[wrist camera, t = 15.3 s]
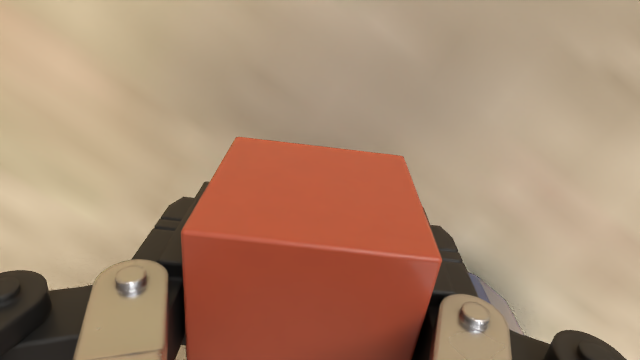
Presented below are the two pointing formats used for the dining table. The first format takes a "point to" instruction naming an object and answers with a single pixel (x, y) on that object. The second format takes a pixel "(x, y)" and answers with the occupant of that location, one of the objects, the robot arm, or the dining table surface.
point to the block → (307, 257)
